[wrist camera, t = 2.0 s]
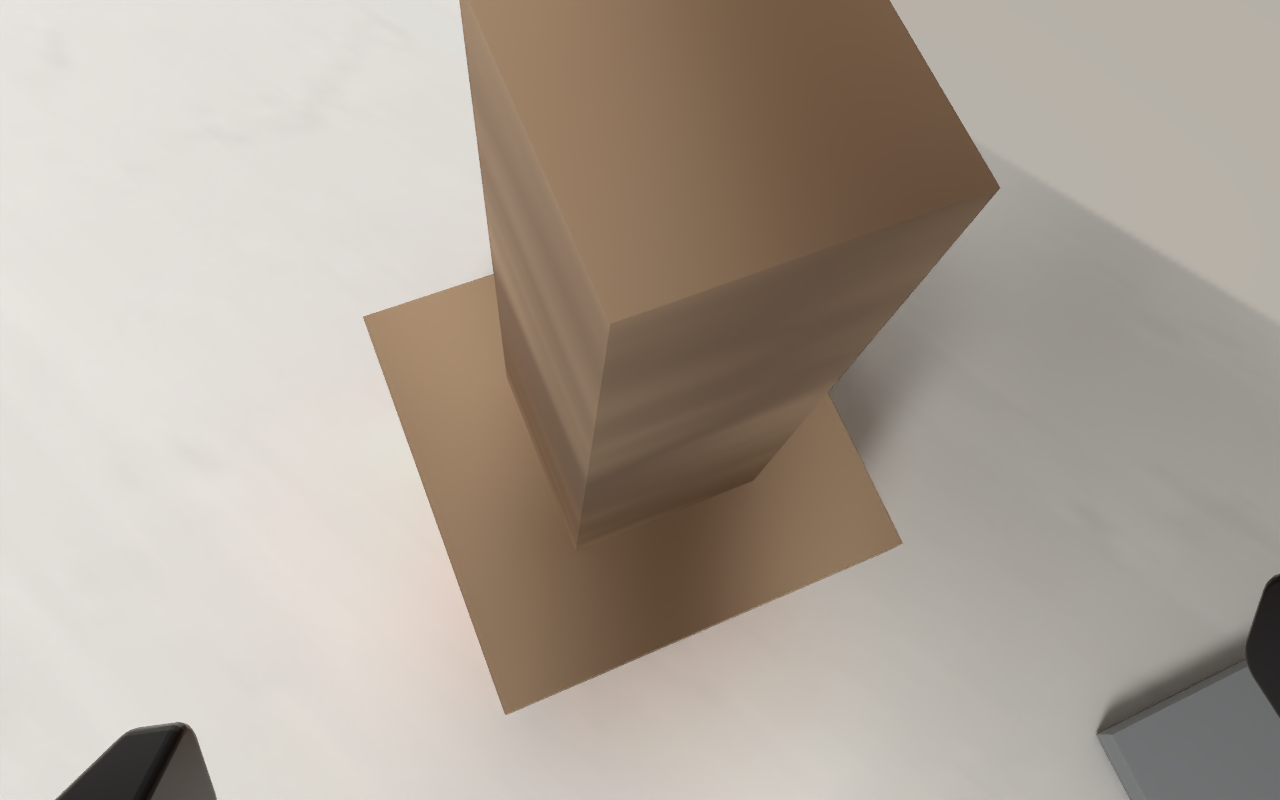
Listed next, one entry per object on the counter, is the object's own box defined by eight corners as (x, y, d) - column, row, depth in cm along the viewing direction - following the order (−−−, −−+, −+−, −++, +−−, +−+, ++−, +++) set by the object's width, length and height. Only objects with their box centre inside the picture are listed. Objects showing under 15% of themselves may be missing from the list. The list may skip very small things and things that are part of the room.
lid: (507, 714, 15) (435, 702, 6) (371, 335, 17) (145, -155, 7) (886, 551, 16) (1338, 323, 7) (722, 217, 18) (905, -317, 9)
